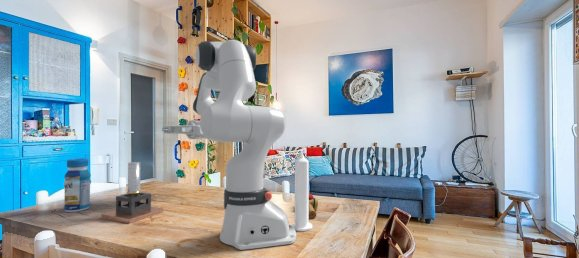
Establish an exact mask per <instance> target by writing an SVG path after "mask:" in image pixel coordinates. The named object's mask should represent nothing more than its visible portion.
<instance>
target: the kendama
mask: <svg viewBox="0 0 579 258" xmlns="http://www.w3.org/2000/svg"><path fill="white" fill-rule="evenodd" d="M318 206H319V199H318V197H314V196H313V194H312V193H310V192H309V215H308V219H315V218H316V217H317V212H316V211H317V210H318Z"/></svg>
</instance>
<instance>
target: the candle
mask: <svg viewBox="0 0 579 258" xmlns="http://www.w3.org/2000/svg"><path fill="white" fill-rule="evenodd" d="M299 154H300V155H299V157H298V158H296V159H295V160H294V222H292V223H291V224H290V225H291V226H292V227H293V228H294V229H295V231H296V232H297V231H298V232H307V231H311V230H312V229H313V223H310V222H309V216H308V215H309V193H310V192H309V185H310V184H309V175H310V174H309V168H310V167H309V166H310V165H309V160H308V158H306V157H305V156H304V151H303V150H301V151H300V153H299Z"/></svg>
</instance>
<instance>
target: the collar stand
mask: <svg viewBox="0 0 579 258" xmlns="http://www.w3.org/2000/svg"><path fill="white" fill-rule="evenodd" d="M144 200H145V201H144ZM136 201H140V205H138V206H135V202H136ZM122 202H125V203H122ZM128 202H129V207H128ZM161 213H164V207H156V206H152V193H149V192H141V193H140V196H136V197H128V194H127V193H124V194H121V195H116V196H115V210H113V211H108V212H105V213H101V219H102V220H108V221H113V222H114V221H115V222H119V223H124V224H125V223H126V224H129V223H130V224H133V223H136V222H138V221H142V220H144V219H147V218H151V217H153V216H157V215H158V214H161Z"/></svg>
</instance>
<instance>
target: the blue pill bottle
mask: <svg viewBox="0 0 579 258" xmlns="http://www.w3.org/2000/svg"><path fill="white" fill-rule="evenodd" d="M88 167H89V158H70V159H67V160H66V168H67V169H68V170H67V171H66V172H65V174H64V182H63V187H64V202H63V203H64V206H63V211H64V212H66V213H77V212H82V211H86V210H89V209H90V208H91V200H90V199H91V195H90V194H91V183H92V180H91V179H90V178H91V176H92V175H91V172H90V171H89V169H88Z"/></svg>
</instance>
